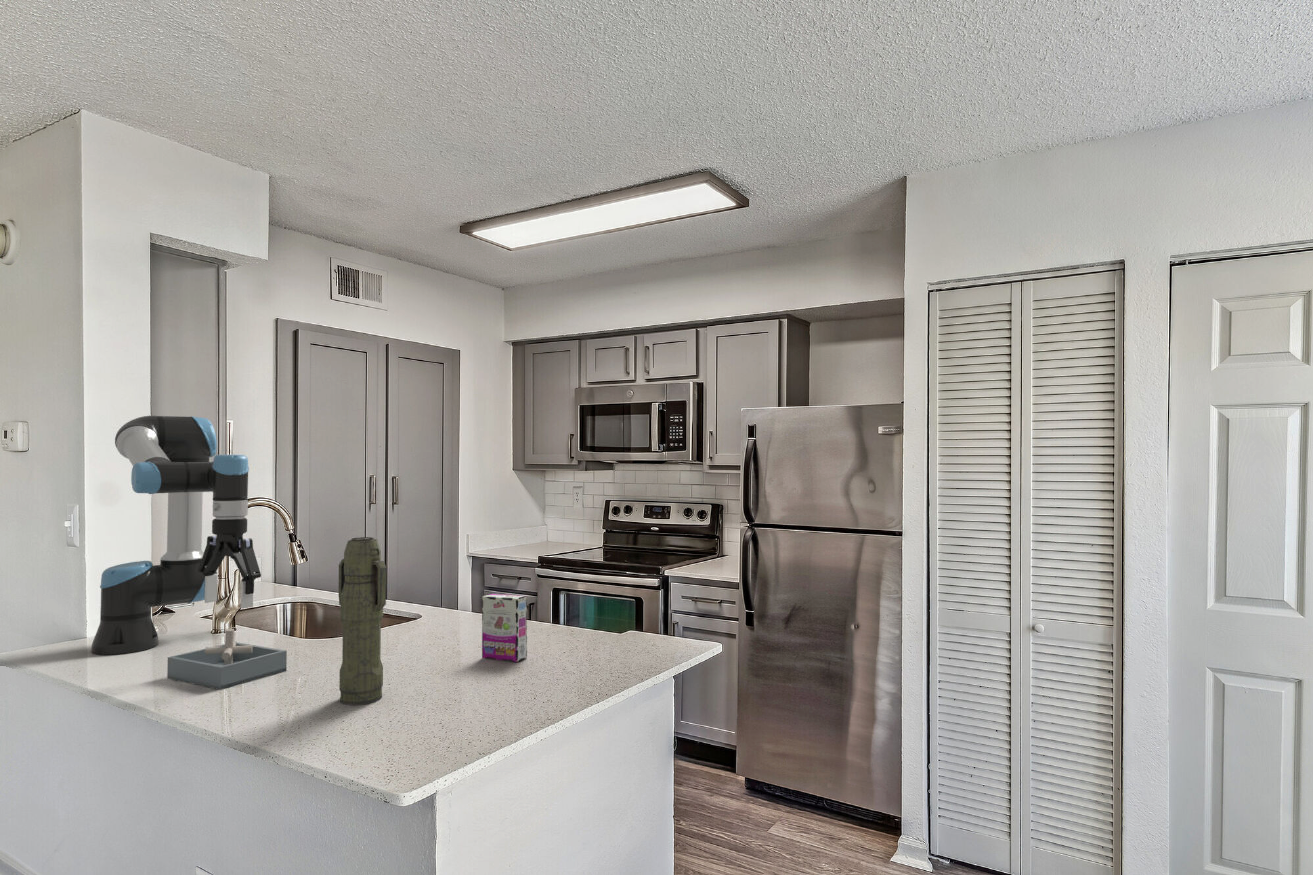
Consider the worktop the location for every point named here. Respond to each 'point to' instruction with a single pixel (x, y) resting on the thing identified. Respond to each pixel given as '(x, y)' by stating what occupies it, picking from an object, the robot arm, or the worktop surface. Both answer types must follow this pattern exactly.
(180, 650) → the worktop surface
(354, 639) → the thermos
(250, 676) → the bin
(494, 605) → the candy bar box
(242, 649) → the pipe connector
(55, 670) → the worktop surface
